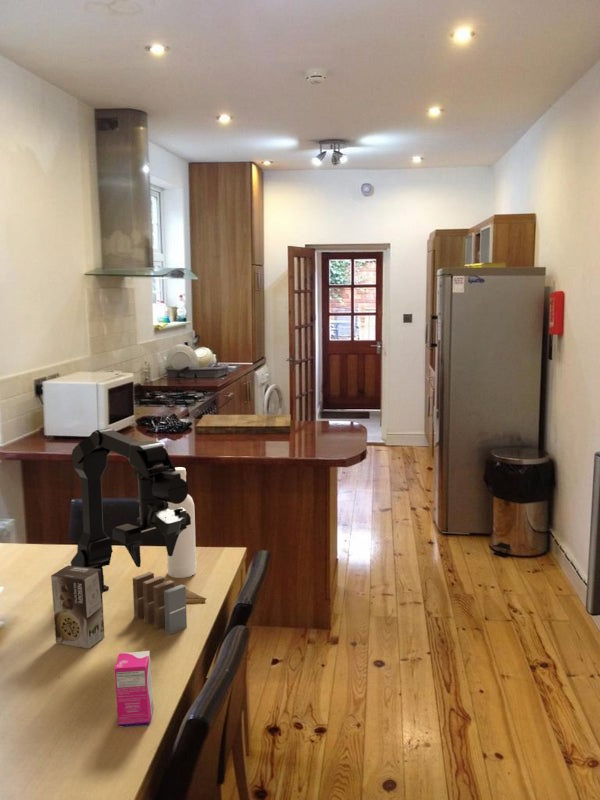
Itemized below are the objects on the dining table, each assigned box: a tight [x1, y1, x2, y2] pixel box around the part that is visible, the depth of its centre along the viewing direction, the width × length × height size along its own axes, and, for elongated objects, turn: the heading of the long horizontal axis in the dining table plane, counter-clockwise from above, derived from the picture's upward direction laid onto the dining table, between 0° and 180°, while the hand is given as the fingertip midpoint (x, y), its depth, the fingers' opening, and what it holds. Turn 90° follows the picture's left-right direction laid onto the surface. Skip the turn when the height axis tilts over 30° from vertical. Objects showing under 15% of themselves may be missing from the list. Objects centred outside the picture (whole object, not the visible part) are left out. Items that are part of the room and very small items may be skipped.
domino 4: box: [164, 584, 188, 635], centre depth 163 cm, size 2×5×10 cm, turn 139°
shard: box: [186, 589, 207, 604], centre depth 180 cm, size 11×8×2 cm
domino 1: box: [132, 571, 155, 620], centre depth 171 cm, size 2×5×10 cm, turn 139°
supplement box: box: [113, 650, 154, 727], centre depth 128 cm, size 6×6×12 cm
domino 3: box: [153, 579, 176, 630], centre depth 166 cm, size 2×5×10 cm, turn 139°
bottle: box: [166, 466, 197, 579], centre depth 196 cm, size 8×8×30 cm
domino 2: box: [143, 575, 165, 625], centre depth 168 cm, size 2×5×10 cm, turn 139°
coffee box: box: [50, 565, 105, 649], centre depth 158 cm, size 9×6×16 cm
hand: (154, 561), depth 166 cm, fingers open, 9 cm apart
